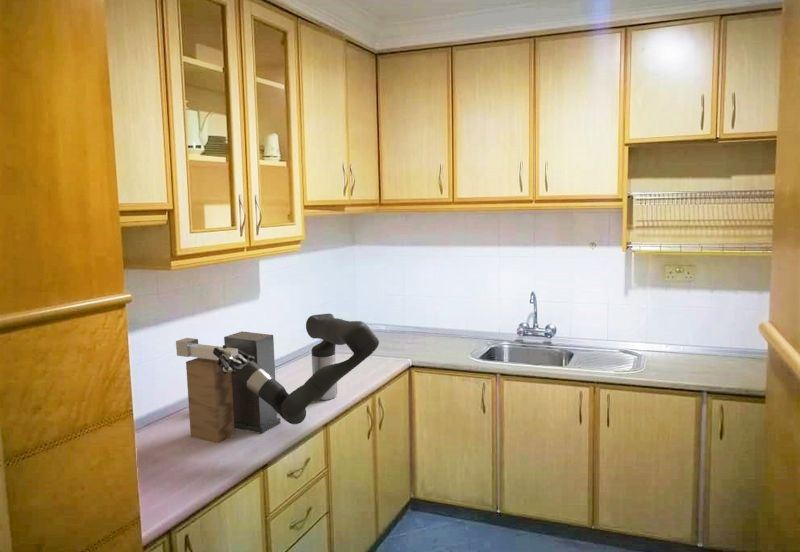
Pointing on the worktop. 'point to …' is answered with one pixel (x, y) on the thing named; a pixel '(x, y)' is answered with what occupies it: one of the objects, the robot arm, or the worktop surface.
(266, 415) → the tall dark grey pillar
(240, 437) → the worktop surface
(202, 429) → the block
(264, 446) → the worktop surface
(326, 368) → the robot arm
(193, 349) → the lever
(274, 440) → the worktop surface
